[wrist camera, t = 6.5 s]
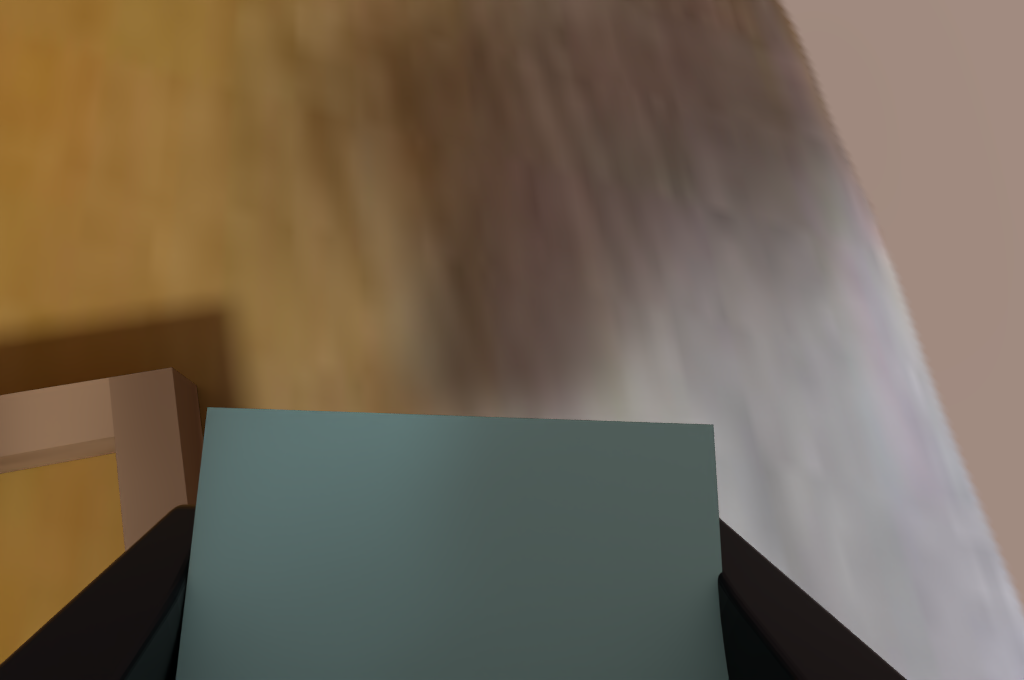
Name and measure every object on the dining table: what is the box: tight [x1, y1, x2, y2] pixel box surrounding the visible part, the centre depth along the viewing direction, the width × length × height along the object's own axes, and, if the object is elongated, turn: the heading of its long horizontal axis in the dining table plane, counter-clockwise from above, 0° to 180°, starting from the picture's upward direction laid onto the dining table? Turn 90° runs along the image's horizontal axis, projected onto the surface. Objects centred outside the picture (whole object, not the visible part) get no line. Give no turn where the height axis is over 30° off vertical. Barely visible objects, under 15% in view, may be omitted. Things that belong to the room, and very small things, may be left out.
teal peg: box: [176, 407, 729, 680], centre depth 10 cm, size 5×5×8 cm
